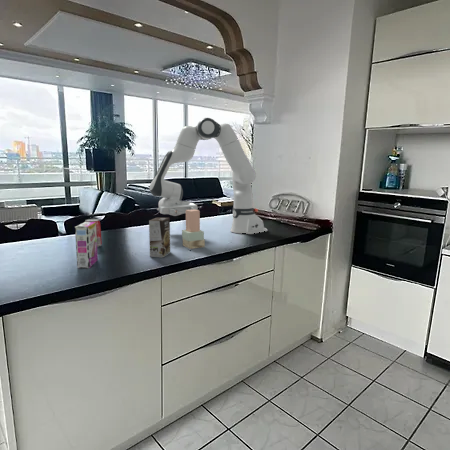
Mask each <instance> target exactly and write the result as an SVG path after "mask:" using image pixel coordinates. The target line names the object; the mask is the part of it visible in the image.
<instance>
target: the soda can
mask: <svg viewBox="0 0 450 450" xmlns="http://www.w3.org/2000/svg"><path fill="white" fill-rule="evenodd" d="M84 222H96V233H97V248H100V247H101V246H102V244H103V242H102V229H101V227H102V225H101V221H100V219H99V218H88V219H85V221H84ZM99 246H100V247H99Z"/></svg>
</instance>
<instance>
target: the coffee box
mask: <svg viewBox="0 0 450 450" xmlns="http://www.w3.org/2000/svg"><path fill="white" fill-rule="evenodd" d="M148 227H149V228H148V229H149V230H148V232H149V233H148V235H149V236H148V237H149V238H148V239H149V257H150V258H151V257H152V258H160V259H162V258H165V257H166V256H168V255H169V254H170V253H171V219H170V217H155V218H152V219H149V220H148Z"/></svg>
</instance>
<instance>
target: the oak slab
mask: <svg viewBox="0 0 450 450" xmlns="http://www.w3.org/2000/svg"><path fill="white" fill-rule="evenodd" d="M205 241H206V239H205V238H204V240H197V241H187V240H185V239H183V238H182V246H184V247H185V248H187V249H189V250H192V249H201V248H205V247H206V245H205V244H206V242H205Z"/></svg>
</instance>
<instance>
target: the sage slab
mask: <svg viewBox="0 0 450 450" xmlns="http://www.w3.org/2000/svg"><path fill="white" fill-rule="evenodd" d="M181 234H182V235H181V238H182V240H183V239H185V240H187V241H197V240H204V239H205V231H204V230H202V229H200V231H197V232H189V231H186V229H182V230H181Z"/></svg>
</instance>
